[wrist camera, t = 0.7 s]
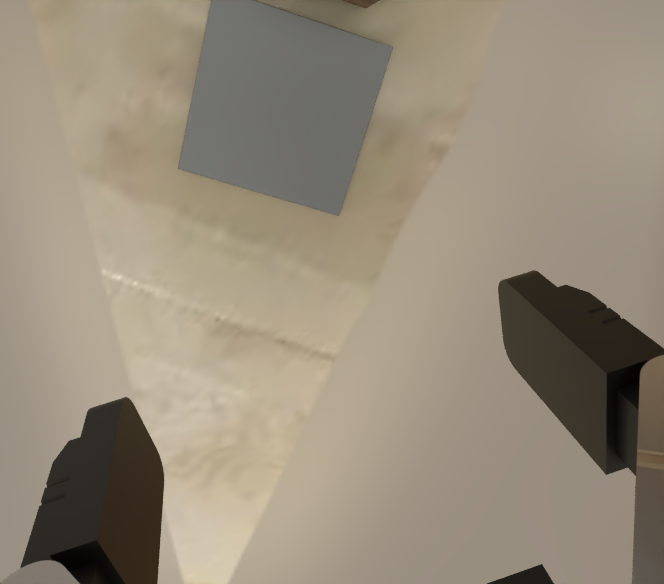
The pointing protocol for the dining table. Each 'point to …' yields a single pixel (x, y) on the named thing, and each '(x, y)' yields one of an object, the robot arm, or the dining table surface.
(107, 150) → the dining table surface
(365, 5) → the brown rectangular block
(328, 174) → the slate mat
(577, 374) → the robot arm
